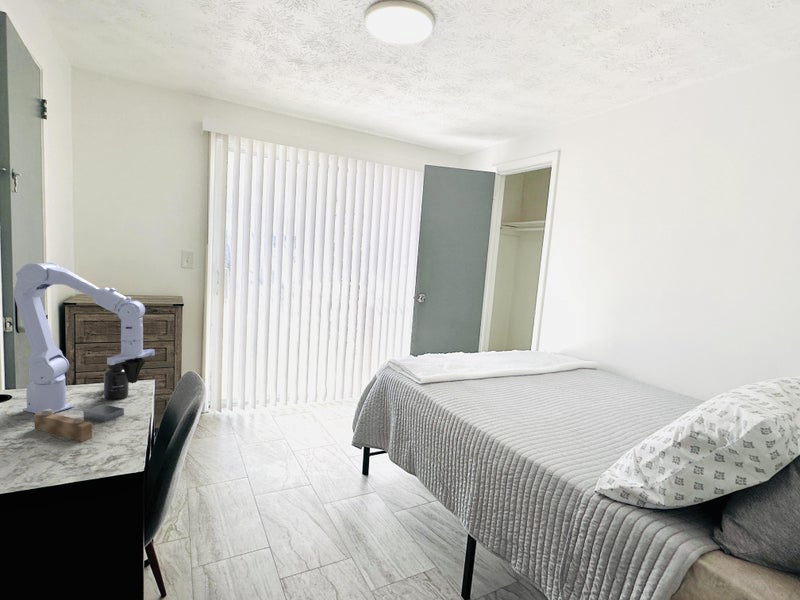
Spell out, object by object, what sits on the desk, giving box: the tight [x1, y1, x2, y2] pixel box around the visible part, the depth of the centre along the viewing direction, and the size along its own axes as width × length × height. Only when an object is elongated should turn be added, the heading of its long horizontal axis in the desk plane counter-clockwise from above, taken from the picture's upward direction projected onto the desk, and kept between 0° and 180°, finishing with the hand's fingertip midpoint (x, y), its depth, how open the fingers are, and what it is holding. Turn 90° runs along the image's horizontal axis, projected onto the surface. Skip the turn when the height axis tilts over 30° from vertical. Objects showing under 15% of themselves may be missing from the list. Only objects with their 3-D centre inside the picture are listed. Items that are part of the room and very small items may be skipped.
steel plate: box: [82, 403, 125, 424], centre depth 120 cm, size 8×6×2 cm
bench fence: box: [33, 409, 93, 442], centre depth 108 cm, size 18×2×5 cm, turn 72°
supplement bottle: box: [103, 363, 130, 401], centre depth 135 cm, size 7×7×12 cm
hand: (132, 382), depth 128 cm, fingers closed
